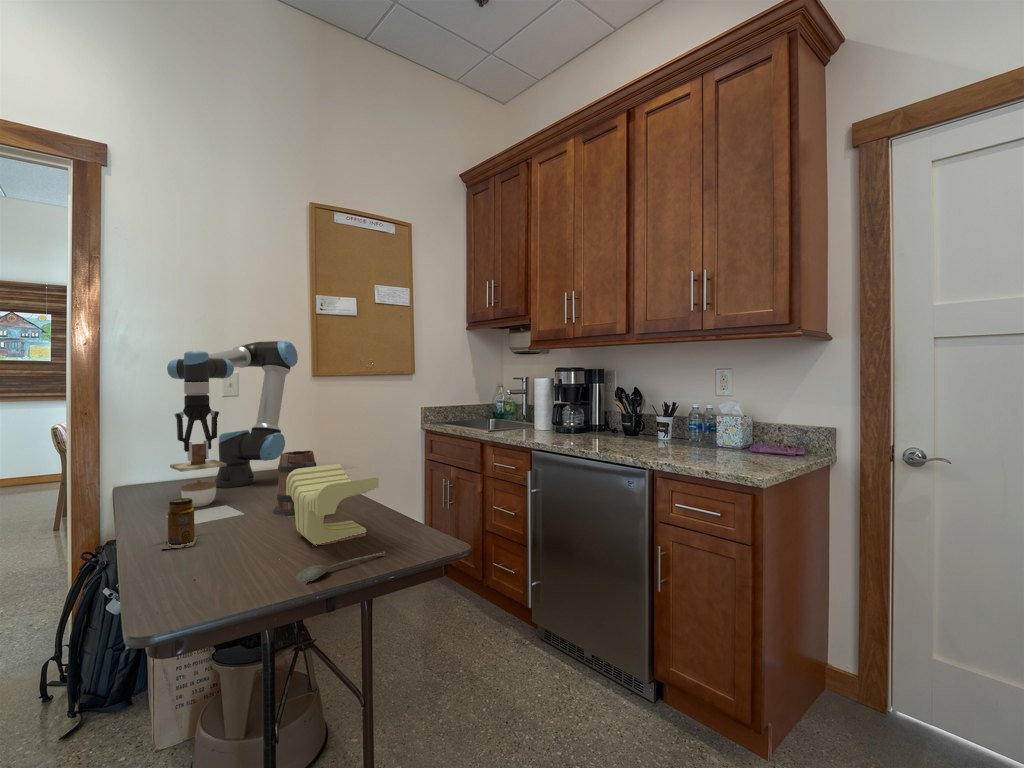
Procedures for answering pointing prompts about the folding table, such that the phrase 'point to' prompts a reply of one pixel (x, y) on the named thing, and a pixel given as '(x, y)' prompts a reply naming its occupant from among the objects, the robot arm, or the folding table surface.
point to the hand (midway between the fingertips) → (198, 459)
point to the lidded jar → (199, 492)
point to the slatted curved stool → (324, 501)
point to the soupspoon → (322, 569)
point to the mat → (214, 514)
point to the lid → (198, 460)
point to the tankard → (285, 467)
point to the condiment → (181, 521)
